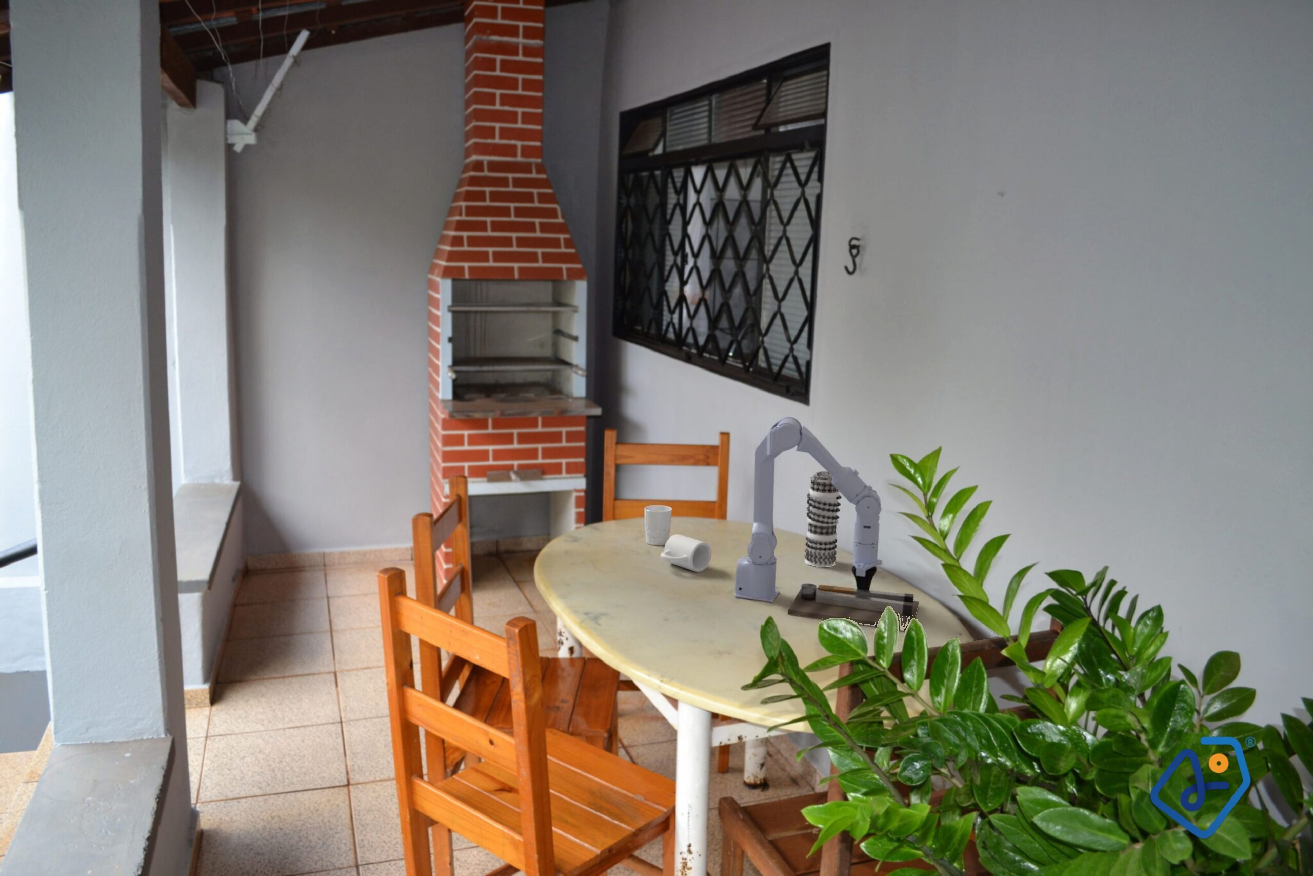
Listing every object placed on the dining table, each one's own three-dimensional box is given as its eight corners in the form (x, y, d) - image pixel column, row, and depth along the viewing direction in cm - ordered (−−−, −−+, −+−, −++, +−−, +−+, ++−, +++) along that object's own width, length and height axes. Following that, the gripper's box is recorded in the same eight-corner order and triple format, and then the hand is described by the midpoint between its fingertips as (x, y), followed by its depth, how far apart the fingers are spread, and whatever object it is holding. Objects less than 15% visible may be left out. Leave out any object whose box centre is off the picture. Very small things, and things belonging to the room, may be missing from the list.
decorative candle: (820, 556, 271) (825, 468, 267) (844, 565, 264) (850, 474, 259) (796, 561, 266) (800, 471, 262) (819, 570, 259) (825, 478, 254)
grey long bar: (815, 602, 231) (816, 592, 230) (817, 600, 232) (817, 590, 232) (911, 616, 223) (912, 605, 223) (912, 613, 225) (912, 603, 225)
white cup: (676, 541, 282) (677, 507, 280) (661, 547, 275) (662, 513, 273) (653, 536, 286) (653, 503, 284) (638, 543, 279) (638, 509, 277)
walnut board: (787, 614, 226) (787, 609, 226) (802, 590, 243) (803, 585, 243) (911, 632, 217) (912, 627, 217) (918, 606, 234) (919, 601, 234)
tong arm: (800, 599, 232) (800, 587, 231) (801, 593, 236) (802, 582, 235) (912, 610, 226) (913, 599, 226) (912, 604, 230) (913, 593, 230)
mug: (684, 559, 265) (684, 531, 263) (711, 568, 258) (712, 539, 257) (652, 568, 257) (653, 539, 255) (679, 578, 250) (680, 548, 248)
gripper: (879, 551, 223) (876, 608, 225) (886, 535, 236) (883, 589, 239) (848, 548, 225) (845, 604, 228) (857, 532, 239) (854, 585, 241)
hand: (862, 596), depth 233 cm, fingers closed
